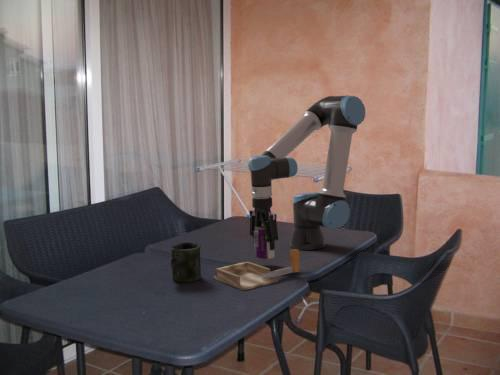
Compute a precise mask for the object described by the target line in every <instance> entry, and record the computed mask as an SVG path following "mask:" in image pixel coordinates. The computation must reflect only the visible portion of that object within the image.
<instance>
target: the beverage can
mask: <svg viewBox="0 0 500 375" xmlns="http://www.w3.org/2000/svg"><path fill="white" fill-rule="evenodd" d="M254 238H255V246H254V256H255V258H256V259H258V260H269V259H268V254H267V241H268V237H267V233H266V229H265V226H264V225H263V224H262V226H259V227H258V226H257V227H255V231H254ZM254 238H253V239H254Z"/></svg>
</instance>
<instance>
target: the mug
mask: <svg viewBox="0 0 500 375" xmlns="http://www.w3.org/2000/svg"><path fill="white" fill-rule="evenodd" d="M201 248H202V245H201V244H200V243H198V242H191V241H190V242H179V243H174V244H171V245H170V248H169V249H170V250H171V260H170V268H171V272H172V280H174V281H175V282H178V283H191V282H195V281H198V280H200V278H201V277H202V270H201Z"/></svg>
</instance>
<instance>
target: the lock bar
mask: <svg viewBox="0 0 500 375" xmlns="http://www.w3.org/2000/svg"><path fill="white" fill-rule="evenodd" d="M289 252H290V255H289V256H290V257H289V258H290V266H287V267H283V268H279V269H275V270H270V272H266V273H262V279H263V280H265V279H269V278H277V277H279V276H280V277H281V276H283V275H287V274H292V273H293V274H294V273H299V272H300V249H294V248H291V249H290V250H289Z"/></svg>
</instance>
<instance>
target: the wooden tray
mask: <svg viewBox="0 0 500 375" xmlns="http://www.w3.org/2000/svg"><path fill="white" fill-rule="evenodd" d="M214 271H215V275H214V276H213V280H215V281H216V280H217V281H218V282H220V283H224V284H227V285H229V286H232V287H234V288H236V289H240V290H242V291H247V290H251V289H255V288H258V287H263V286H267V285H271V284H274V283H277V282H279V278H277V277H273V278H269V279H265V280H263V279H262V273H266V272H270V271H271V268H270V267H266V266H263V265H259V264H257V263H253V262H251V261H248V260H247V261H243V262H239V263H235V264H230V265H225V266H222V267H217V268H215V270H214Z"/></svg>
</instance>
